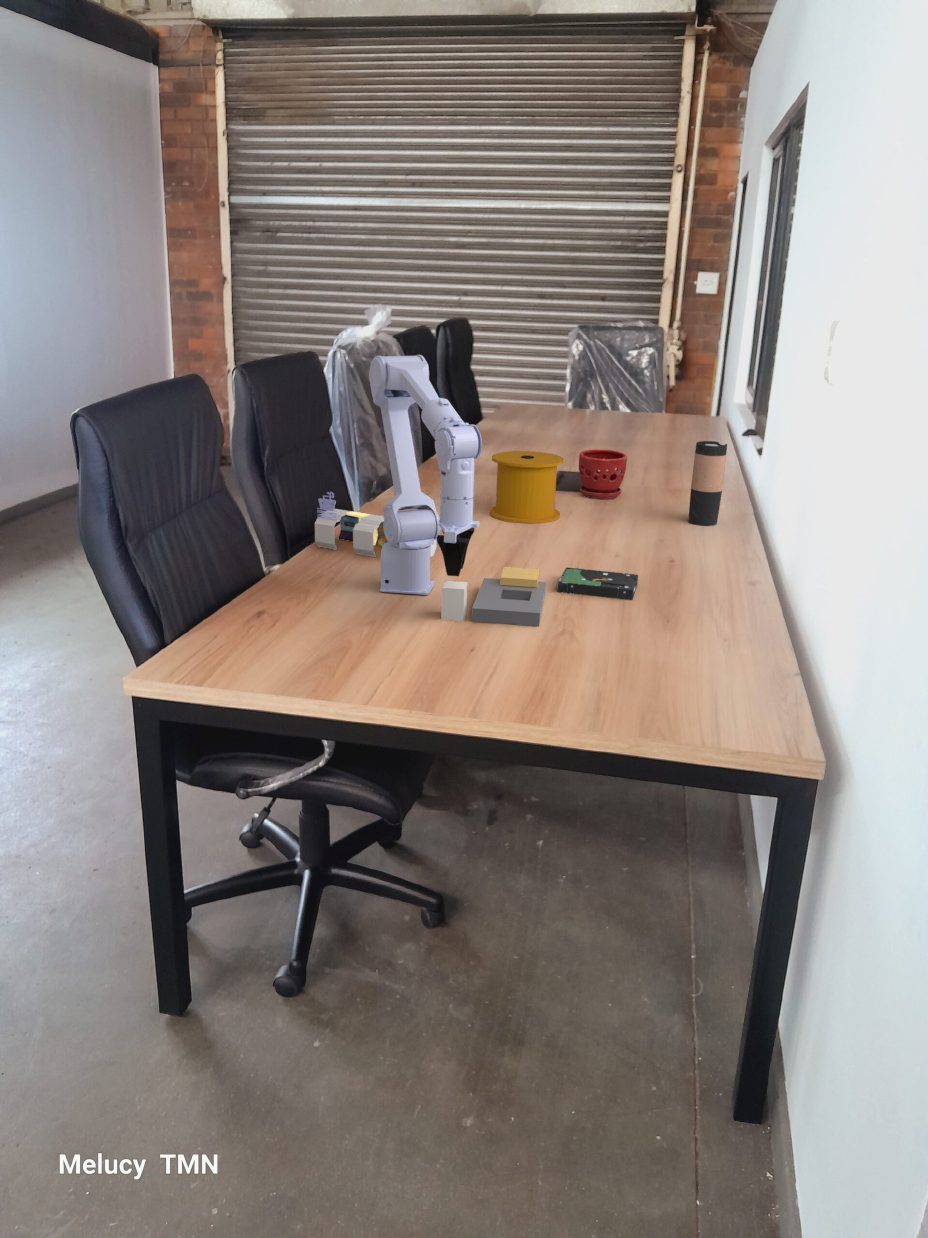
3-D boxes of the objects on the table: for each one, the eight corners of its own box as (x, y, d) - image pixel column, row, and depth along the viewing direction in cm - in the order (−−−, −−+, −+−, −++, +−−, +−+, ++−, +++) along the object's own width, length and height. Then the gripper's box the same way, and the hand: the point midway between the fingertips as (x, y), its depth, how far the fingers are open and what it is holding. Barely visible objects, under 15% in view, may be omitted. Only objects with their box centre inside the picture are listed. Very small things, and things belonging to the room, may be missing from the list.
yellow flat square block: (499, 584, 181) (500, 577, 181) (503, 574, 188) (503, 566, 187) (536, 587, 181) (537, 579, 180) (539, 576, 187) (539, 569, 187)
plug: (441, 619, 170) (441, 587, 168) (444, 612, 174) (445, 580, 172) (463, 621, 170) (464, 589, 168) (466, 613, 174) (467, 582, 172)
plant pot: (567, 492, 271) (570, 450, 266) (607, 489, 276) (610, 447, 272) (592, 502, 259) (595, 458, 255) (632, 499, 265) (636, 456, 261)
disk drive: (637, 587, 193) (564, 579, 196) (638, 574, 192) (565, 566, 195) (632, 603, 184) (556, 594, 187) (634, 589, 183) (557, 580, 186)
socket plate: (471, 621, 170) (472, 608, 169) (483, 589, 187) (484, 577, 186) (539, 626, 168) (539, 613, 167) (545, 594, 185) (545, 582, 184)
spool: (562, 524, 236) (566, 464, 231) (489, 522, 237) (492, 462, 231) (557, 507, 253) (560, 451, 248) (489, 505, 253) (491, 449, 248)
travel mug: (686, 524, 239) (695, 444, 233) (687, 517, 246) (696, 439, 240) (718, 527, 238) (728, 447, 231) (718, 520, 245) (727, 441, 238)
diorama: (315, 549, 211) (313, 491, 207) (341, 538, 220) (340, 482, 215) (413, 566, 201) (413, 506, 196) (436, 555, 209) (437, 496, 205)
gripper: (474, 507, 157) (472, 585, 162) (484, 488, 171) (482, 561, 175) (432, 504, 158) (431, 582, 163) (446, 486, 172) (444, 559, 176)
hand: (455, 571), depth 169 cm, fingers open, 4 cm apart
